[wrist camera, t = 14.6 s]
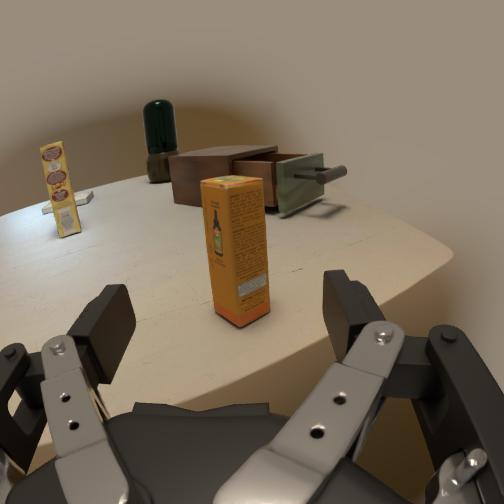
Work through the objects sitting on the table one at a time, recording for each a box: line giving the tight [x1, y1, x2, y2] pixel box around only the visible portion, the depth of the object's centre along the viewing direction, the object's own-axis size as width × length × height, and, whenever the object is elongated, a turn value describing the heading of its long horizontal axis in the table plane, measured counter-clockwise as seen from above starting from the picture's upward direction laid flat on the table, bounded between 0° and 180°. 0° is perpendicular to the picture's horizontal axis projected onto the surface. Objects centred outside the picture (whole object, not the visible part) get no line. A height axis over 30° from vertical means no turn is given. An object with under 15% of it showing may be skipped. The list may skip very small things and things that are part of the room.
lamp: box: [142, 99, 181, 183], centre depth 77 cm, size 10×10×22 cm
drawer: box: [232, 153, 347, 213], centre depth 48 cm, size 18×11×7 cm, turn 51°
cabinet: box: [168, 146, 278, 207], centre depth 55 cm, size 15×13×9 cm
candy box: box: [40, 141, 81, 238], centre depth 46 cm, size 9×4×15 cm, turn 33°
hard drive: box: [42, 191, 94, 214], centre depth 68 cm, size 2×8×12 cm
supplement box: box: [200, 175, 270, 327], centre depth 22 cm, size 3×3×10 cm
